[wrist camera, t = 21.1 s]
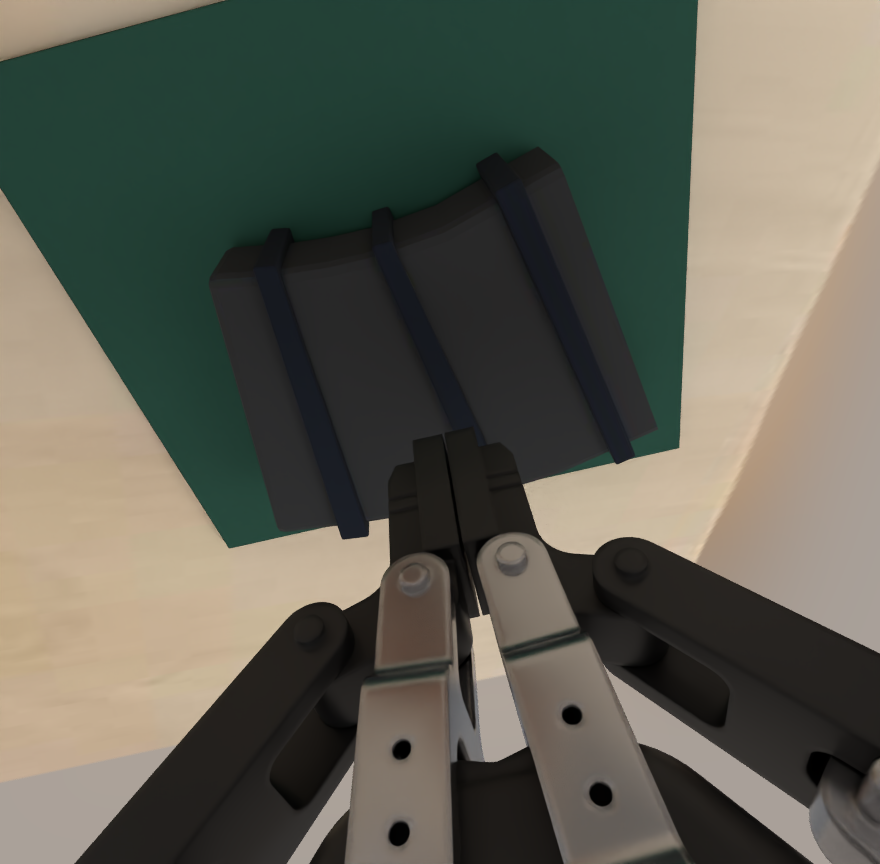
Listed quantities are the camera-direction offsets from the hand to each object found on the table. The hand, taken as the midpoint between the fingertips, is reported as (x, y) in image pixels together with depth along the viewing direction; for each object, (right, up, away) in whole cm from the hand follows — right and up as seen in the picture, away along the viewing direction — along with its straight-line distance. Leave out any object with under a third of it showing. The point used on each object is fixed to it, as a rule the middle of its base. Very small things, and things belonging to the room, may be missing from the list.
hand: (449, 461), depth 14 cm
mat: (-2, +6, +8) cm, 10 cm away
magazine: (-7, +3, +7) cm, 10 cm away
